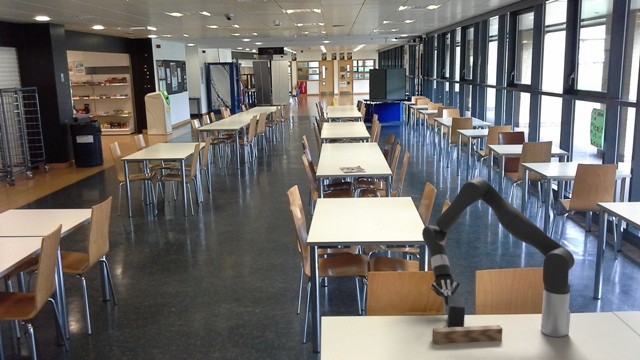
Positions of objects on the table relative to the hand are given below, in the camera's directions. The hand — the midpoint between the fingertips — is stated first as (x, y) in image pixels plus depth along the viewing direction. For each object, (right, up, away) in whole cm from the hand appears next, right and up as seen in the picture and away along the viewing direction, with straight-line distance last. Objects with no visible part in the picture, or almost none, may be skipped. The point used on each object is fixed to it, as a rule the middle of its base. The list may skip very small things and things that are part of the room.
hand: (449, 305), depth 227 cm
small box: (+1, -7, -8) cm, 10 cm away
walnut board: (+2, -9, -21) cm, 22 cm away
